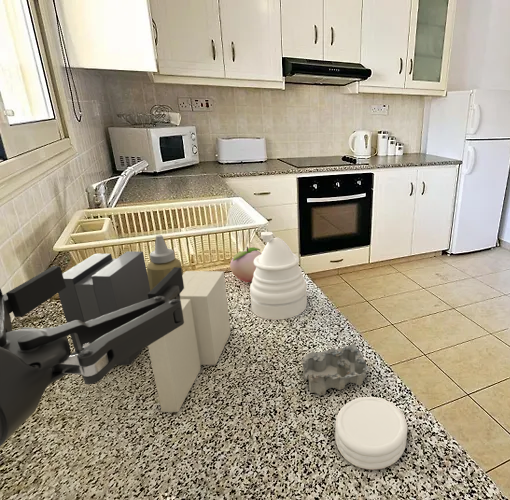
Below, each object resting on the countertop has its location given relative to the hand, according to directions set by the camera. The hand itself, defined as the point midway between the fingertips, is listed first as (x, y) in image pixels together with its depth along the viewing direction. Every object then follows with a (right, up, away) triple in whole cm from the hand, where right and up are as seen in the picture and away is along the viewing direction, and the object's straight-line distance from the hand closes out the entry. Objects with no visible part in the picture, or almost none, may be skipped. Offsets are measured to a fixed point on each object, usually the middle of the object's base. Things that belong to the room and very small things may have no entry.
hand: (120, 277), depth 43 cm
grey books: (-17, -15, +28) cm, 36 cm away
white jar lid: (+30, -24, +10) cm, 39 cm away
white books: (-1, -16, +28) cm, 32 cm away
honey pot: (+10, -10, +44) cm, 47 cm away
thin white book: (-1, -20, +18) cm, 27 cm away
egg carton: (+24, -19, +22) cm, 38 cm away
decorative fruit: (+1, -6, +55) cm, 55 cm away
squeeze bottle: (-13, -11, +41) cm, 44 cm away
